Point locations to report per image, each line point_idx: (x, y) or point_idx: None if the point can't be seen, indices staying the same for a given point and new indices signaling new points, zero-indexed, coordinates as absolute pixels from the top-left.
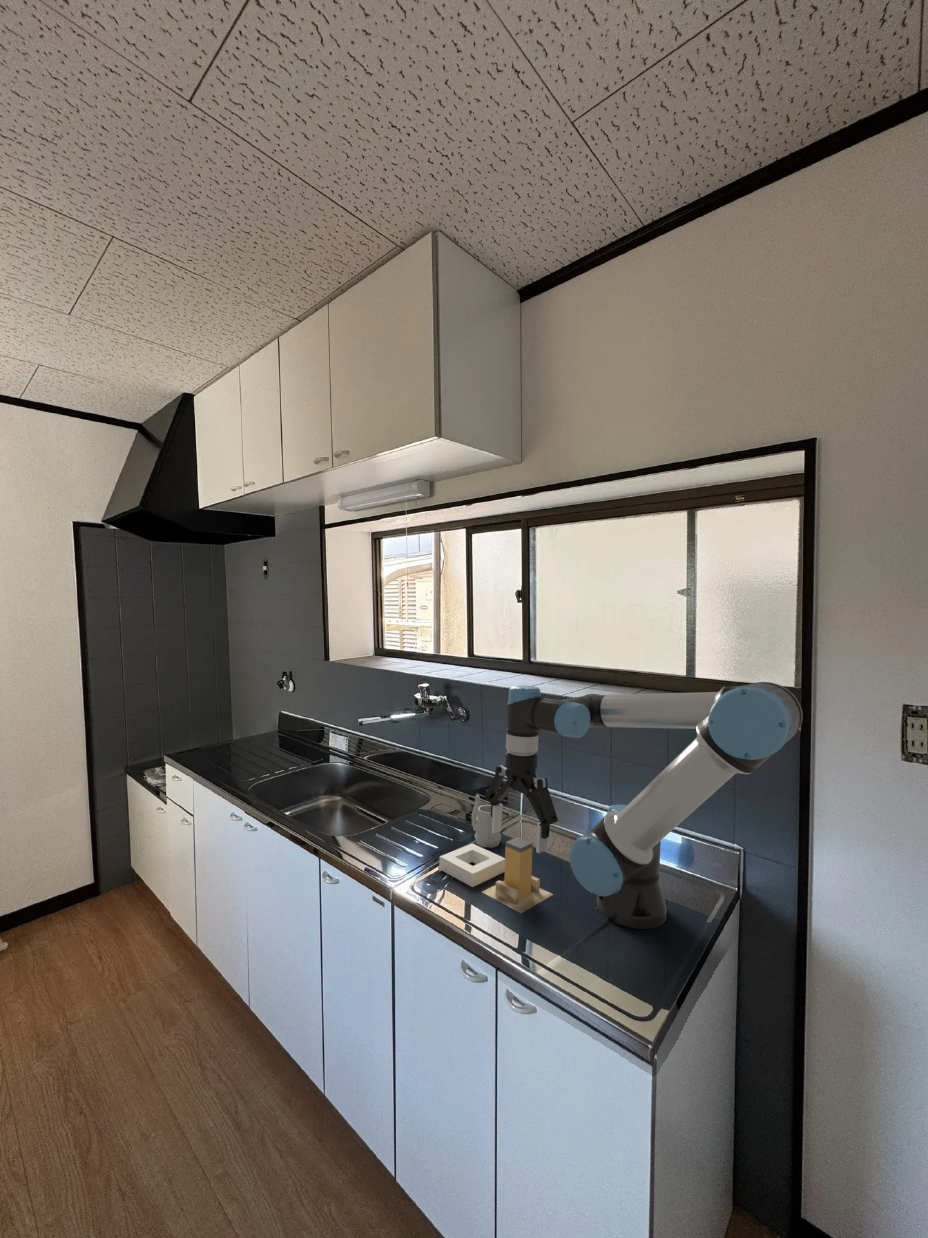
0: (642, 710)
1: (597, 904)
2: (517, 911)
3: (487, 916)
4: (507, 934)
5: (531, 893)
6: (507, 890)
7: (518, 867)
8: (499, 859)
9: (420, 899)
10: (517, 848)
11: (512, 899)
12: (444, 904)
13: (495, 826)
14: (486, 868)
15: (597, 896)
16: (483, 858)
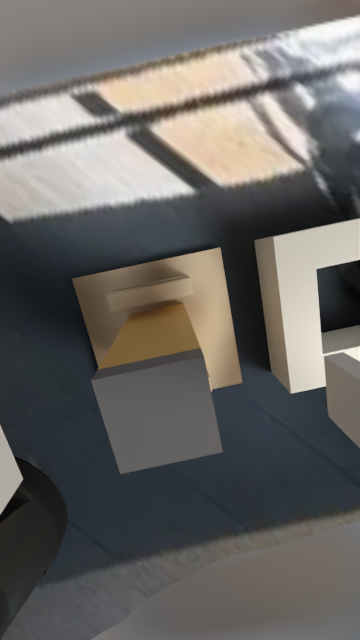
0: None
1: (23, 469)
2: (85, 276)
3: (120, 196)
4: (20, 192)
5: None
6: (140, 287)
7: (120, 342)
8: (299, 374)
9: (302, 55)
10: (114, 372)
11: (121, 289)
12: (236, 113)
13: (352, 386)
14: (279, 304)
15: (21, 486)
16: (346, 343)
